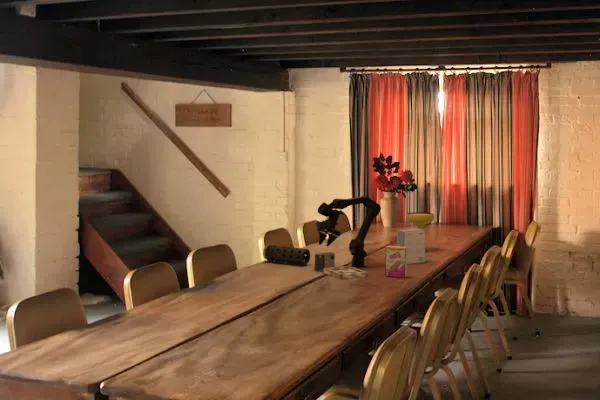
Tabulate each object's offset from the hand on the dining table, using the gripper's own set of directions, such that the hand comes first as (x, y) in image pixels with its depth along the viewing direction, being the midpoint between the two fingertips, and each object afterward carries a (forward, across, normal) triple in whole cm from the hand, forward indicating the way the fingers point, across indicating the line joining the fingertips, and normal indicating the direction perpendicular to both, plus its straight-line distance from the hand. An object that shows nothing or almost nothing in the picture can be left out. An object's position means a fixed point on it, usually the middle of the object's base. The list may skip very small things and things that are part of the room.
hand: (323, 245), depth 421 cm
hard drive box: (-11, -2, +61) cm, 62 cm away
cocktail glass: (-24, -36, +89) cm, 100 cm away
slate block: (+12, +21, +10) cm, 27 cm away
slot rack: (+12, +17, +10) cm, 23 cm away
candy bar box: (+3, +32, +31) cm, 45 cm away
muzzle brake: (+16, -28, -4) cm, 33 cm away
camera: (+13, 0, +6) cm, 14 cm away
